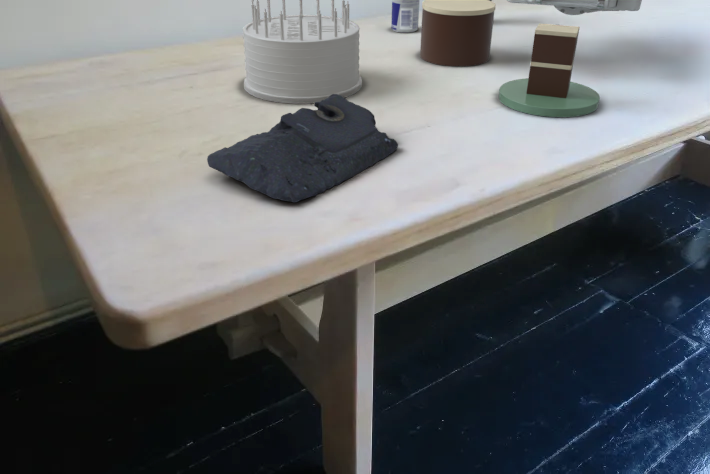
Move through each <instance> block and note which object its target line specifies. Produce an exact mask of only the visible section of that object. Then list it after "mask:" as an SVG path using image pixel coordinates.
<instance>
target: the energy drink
mask: <svg viewBox="0 0 710 474" xmlns="http://www.w3.org/2000/svg"><path fill="white" fill-rule="evenodd" d="M419 18H420V0H391V22H390V23H391V25H390V26H391V27H390V28H391V30H392V31H393V32H397V33H403V34H404V33H407V34H408V33H414V32H417V30H419V20H420V19H419Z"/></svg>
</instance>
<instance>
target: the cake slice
mask: <svg viewBox="0 0 710 474" xmlns="http://www.w3.org/2000/svg"><path fill="white" fill-rule="evenodd" d="M579 33H580V26H575V25H563V24H552V23H540V22H539V23H538V25H537V26H536V28H535V29H534V36H533V43H532V48H531V49H532V51H531V57H530V65H529V71H528V86H527V94H533V95H542V96H550V97H559V98H566V97H567V94H568V91H569V86H570V82H571V79H572V74H573V68H574V61H575V58H576V57H575V56H576V51H577V44H578V39H579Z"/></svg>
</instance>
